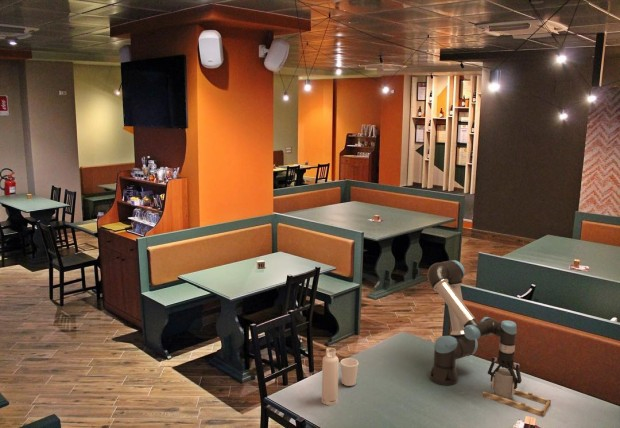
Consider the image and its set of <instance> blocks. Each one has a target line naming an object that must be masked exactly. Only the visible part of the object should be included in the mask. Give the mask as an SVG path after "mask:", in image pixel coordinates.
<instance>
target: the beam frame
mask: <svg viewBox="0 0 620 428" xmlns="http://www.w3.org/2000/svg"><path fill="white" fill-rule="evenodd" d="M490 387H491V388H492V382H491V386H490ZM514 395H515V396H518V397H521V398H523V399H527V400H531V401H533V402H536V403H539V404H543V405H544V406H543V408H541V409H539V408H536V407H533V406H530V405H527V404H526V403H524V402H517V401H514V400H512V399H506V398H503V397H500V396H497V395H494V394H493V393H490V392H487V391H483V392H482V398H486V399H488V400H492V401H495V402H497V403H500V404H504V405H507V406H510V407H512V408H515V409H519V410H522V411H525V412H528V413H531V414H534V415H537V416H539V417H542V418H544V417H545V414H546V413H547V412H548V410H549V408H550V406H551V402H552V400H551V399H548V398H544V397H542V396H538V395H536V394H533V393H532V392H526V391H522V390H519V389H517V388H516V389H515V393H514V394H513V396H514Z"/></svg>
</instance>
